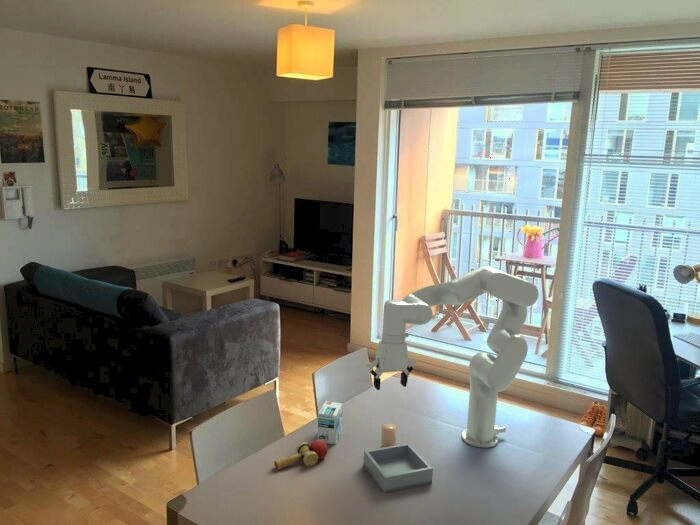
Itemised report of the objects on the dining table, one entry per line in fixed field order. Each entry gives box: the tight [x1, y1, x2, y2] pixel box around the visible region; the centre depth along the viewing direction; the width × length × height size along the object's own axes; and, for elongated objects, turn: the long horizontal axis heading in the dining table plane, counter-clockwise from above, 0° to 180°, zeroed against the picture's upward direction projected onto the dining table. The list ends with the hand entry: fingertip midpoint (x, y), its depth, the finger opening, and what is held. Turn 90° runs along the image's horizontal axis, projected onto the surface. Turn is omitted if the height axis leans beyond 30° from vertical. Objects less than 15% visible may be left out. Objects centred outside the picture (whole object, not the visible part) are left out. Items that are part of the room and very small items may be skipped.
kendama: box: [273, 439, 329, 471], centre depth 182 cm, size 8×6×18 cm
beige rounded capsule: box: [380, 423, 397, 448], centre depth 192 cm, size 5×5×8 cm
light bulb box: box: [317, 400, 344, 445], centre depth 199 cm, size 11×7×11 cm, turn 168°
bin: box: [363, 443, 434, 494], centre depth 177 cm, size 16×16×5 cm
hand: (390, 386), depth 188 cm, fingers open, 9 cm apart
